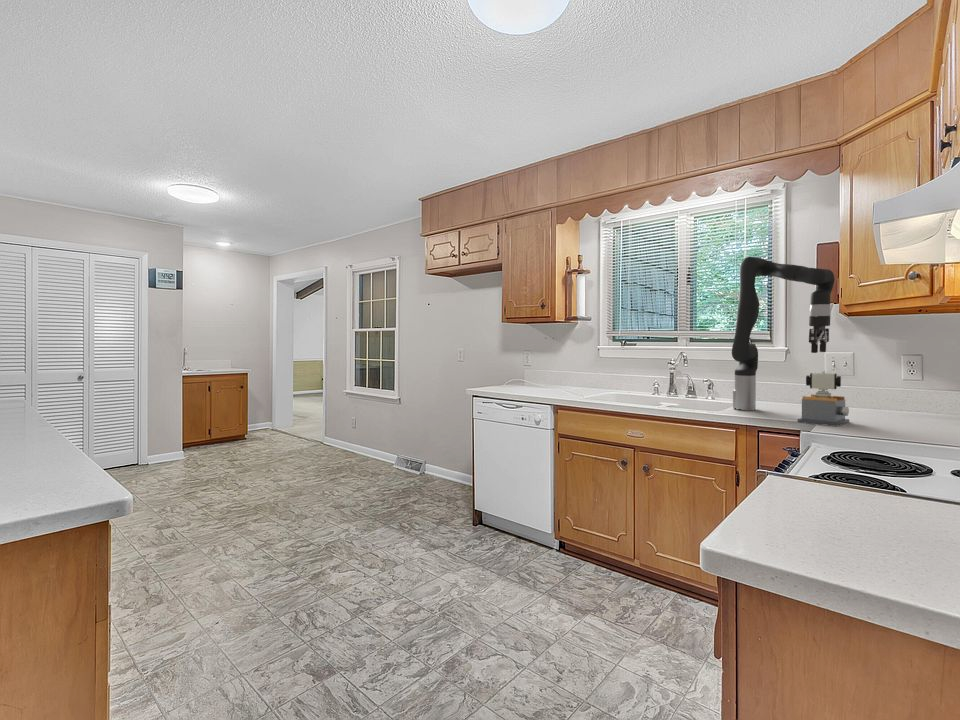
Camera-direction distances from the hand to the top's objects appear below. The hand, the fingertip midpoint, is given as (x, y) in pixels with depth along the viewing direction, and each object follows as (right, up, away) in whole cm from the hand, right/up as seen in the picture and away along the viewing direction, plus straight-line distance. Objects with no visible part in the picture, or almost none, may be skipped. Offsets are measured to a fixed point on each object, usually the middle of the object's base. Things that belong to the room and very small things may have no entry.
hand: (818, 352), depth 208 cm
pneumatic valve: (-3, -20, -7) cm, 22 cm away
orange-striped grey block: (-3, -30, -7) cm, 30 cm away
